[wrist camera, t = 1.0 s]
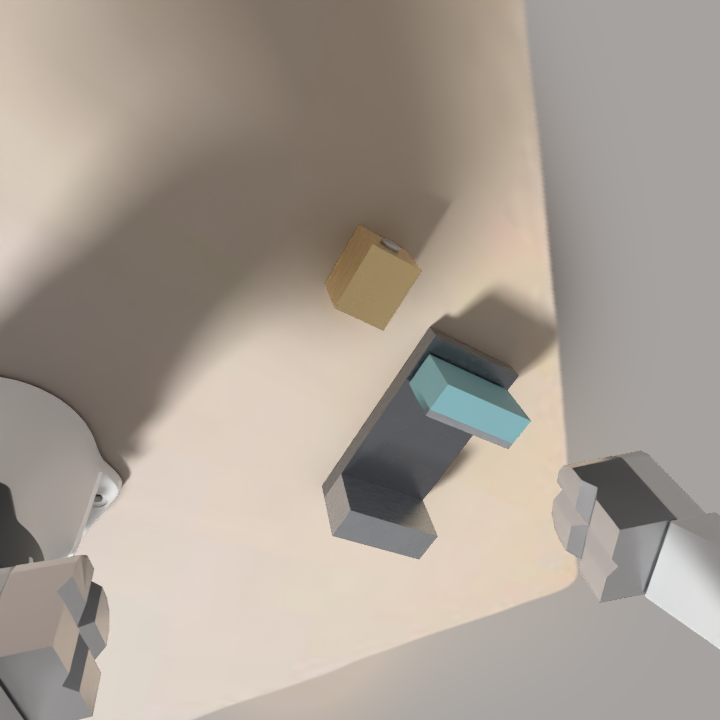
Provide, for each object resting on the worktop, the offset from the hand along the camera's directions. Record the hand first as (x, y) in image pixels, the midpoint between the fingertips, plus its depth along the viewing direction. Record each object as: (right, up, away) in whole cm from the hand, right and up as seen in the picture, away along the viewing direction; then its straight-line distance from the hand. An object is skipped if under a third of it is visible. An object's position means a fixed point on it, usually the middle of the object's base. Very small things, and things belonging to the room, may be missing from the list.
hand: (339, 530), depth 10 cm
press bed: (+5, -3, +41) cm, 41 cm away
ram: (+9, +1, +37) cm, 38 cm away
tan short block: (+1, +10, +32) cm, 34 cm away
